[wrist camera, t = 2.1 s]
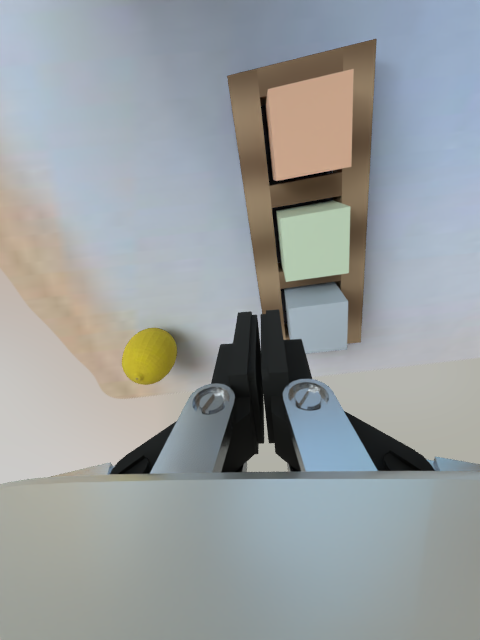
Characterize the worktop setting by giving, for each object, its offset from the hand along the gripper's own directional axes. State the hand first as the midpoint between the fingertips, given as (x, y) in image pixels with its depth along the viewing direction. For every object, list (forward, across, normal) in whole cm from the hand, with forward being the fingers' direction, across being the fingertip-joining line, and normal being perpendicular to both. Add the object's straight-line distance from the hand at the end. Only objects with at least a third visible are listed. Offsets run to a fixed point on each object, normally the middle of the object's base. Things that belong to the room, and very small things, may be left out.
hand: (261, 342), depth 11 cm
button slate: (+17, -5, +7) cm, 19 cm away
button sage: (+17, -4, -1) cm, 17 cm away
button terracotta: (+16, -4, -8) cm, 19 cm away
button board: (+18, -4, -1) cm, 19 cm away
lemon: (+19, +13, +10) cm, 25 cm away
